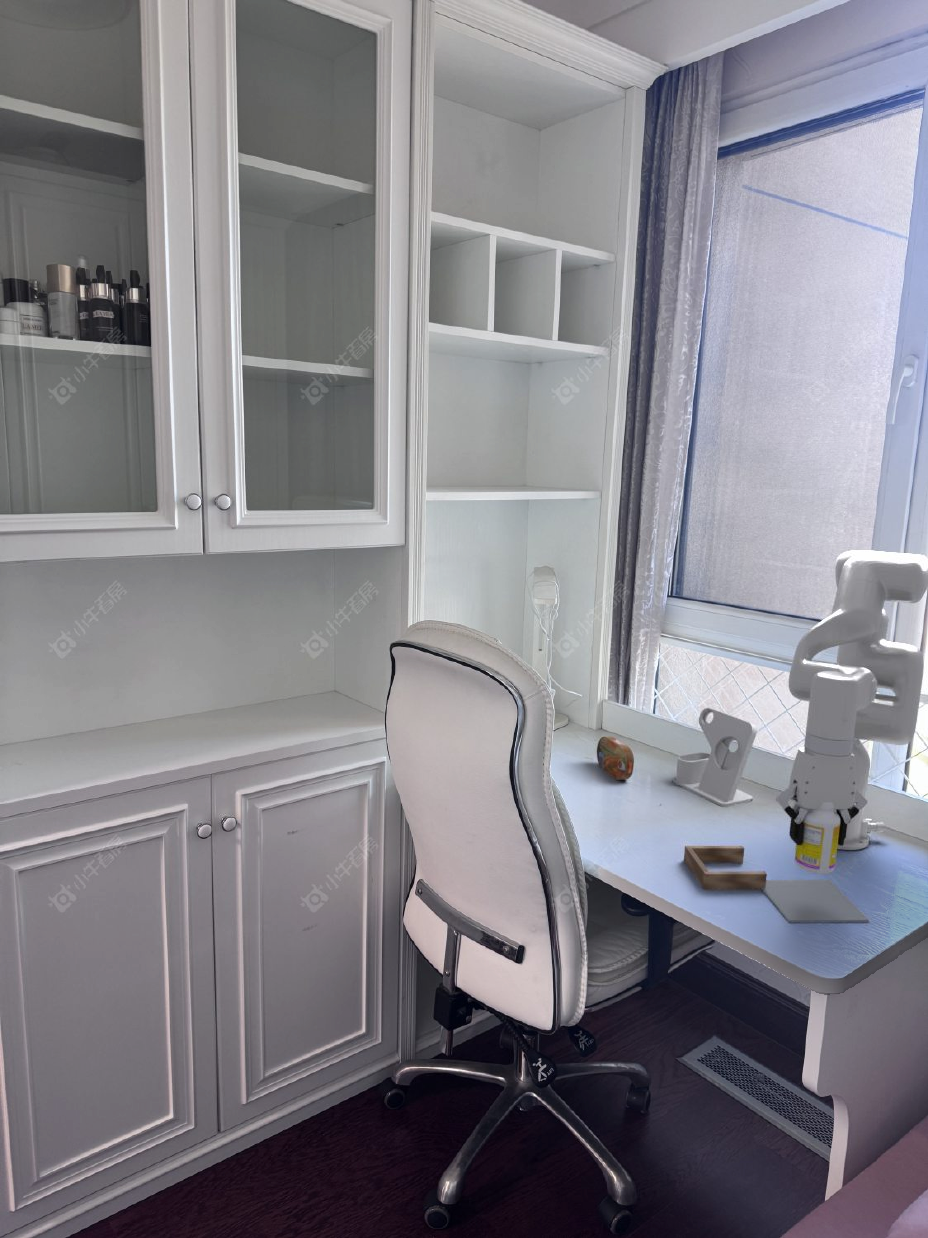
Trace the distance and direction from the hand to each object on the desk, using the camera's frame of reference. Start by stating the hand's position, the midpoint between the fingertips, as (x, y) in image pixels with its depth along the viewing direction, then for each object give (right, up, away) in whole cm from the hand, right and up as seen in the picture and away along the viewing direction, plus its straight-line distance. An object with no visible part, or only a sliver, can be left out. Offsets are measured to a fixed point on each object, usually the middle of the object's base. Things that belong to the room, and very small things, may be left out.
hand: (816, 841), depth 150 cm
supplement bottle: (0, -5, +1) cm, 5 cm away
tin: (-25, 0, +61) cm, 66 cm away
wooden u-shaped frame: (-13, -9, +11) cm, 19 cm away
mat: (0, -11, +2) cm, 11 cm away
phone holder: (-3, -2, +53) cm, 53 cm away
